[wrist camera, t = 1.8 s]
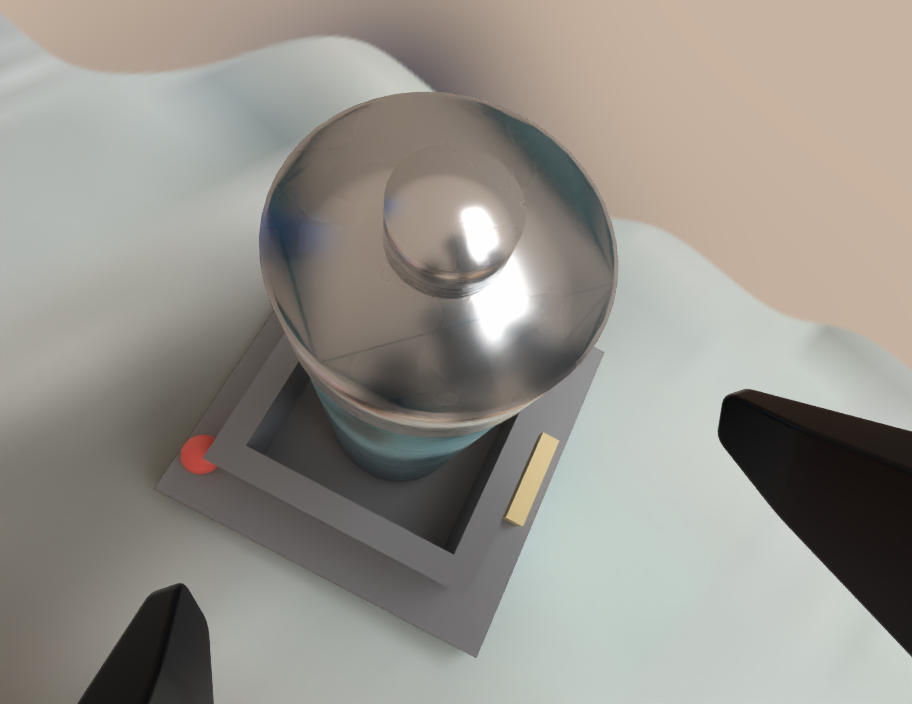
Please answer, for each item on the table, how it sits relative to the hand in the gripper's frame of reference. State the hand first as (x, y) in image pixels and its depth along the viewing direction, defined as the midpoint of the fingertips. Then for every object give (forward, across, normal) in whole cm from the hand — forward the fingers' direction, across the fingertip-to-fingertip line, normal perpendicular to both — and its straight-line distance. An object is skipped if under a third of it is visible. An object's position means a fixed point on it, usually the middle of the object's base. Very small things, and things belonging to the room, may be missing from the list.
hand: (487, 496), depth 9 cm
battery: (+9, 0, +4) cm, 10 cm away
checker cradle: (+10, 0, +5) cm, 11 cm away
